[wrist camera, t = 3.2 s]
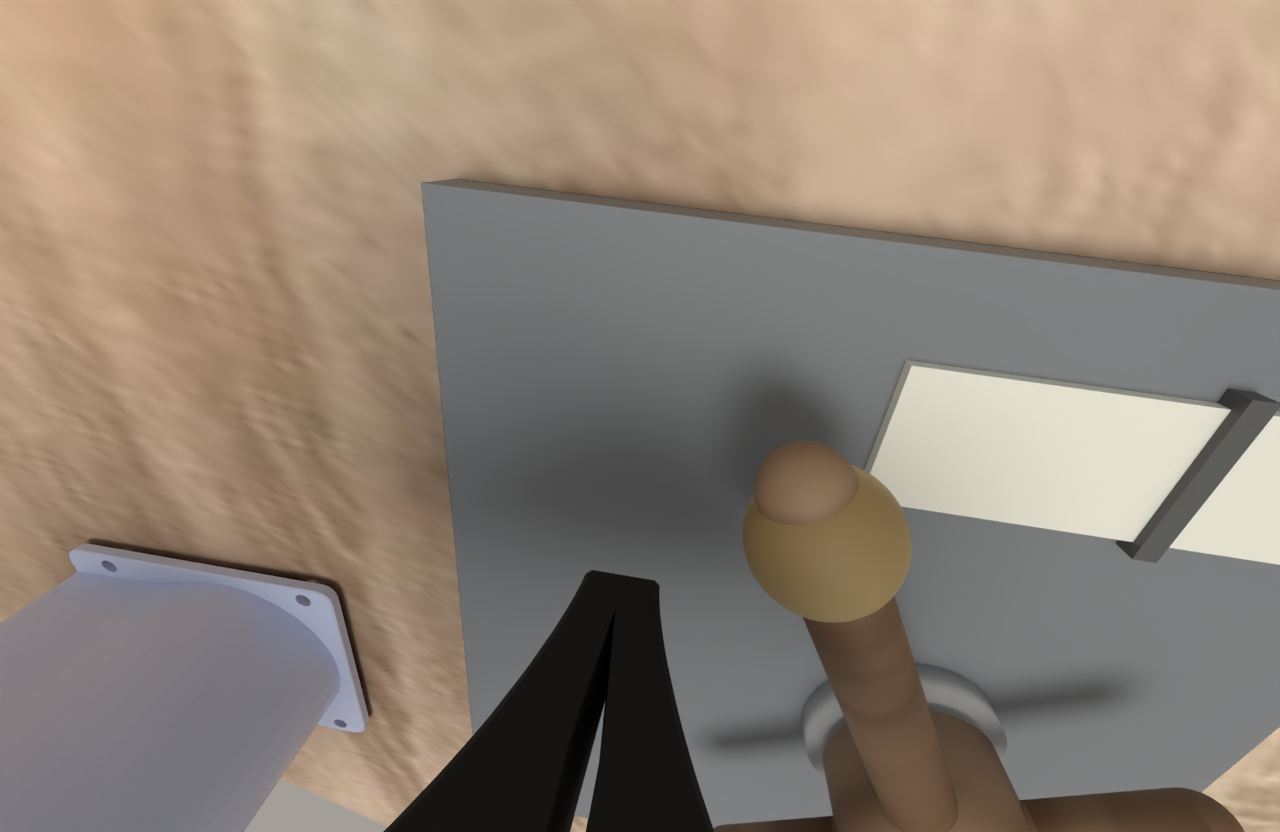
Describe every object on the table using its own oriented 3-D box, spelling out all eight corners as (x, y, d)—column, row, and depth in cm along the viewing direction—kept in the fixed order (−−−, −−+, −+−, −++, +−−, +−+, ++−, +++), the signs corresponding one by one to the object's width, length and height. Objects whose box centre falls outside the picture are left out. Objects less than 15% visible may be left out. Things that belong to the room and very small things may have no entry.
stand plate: (492, 756, 21) (469, 820, 19) (456, 178, 11) (398, 185, 9) (1036, 860, 20) (1073, 940, 18) (1591, 319, 9) (1832, 365, 7)
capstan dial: (1167, 855, 14) (1279, 1026, 12) (763, 876, 18) (773, 1012, 15) (1159, 271, 8) (1421, 341, 5) (510, 483, 11) (442, 597, 8)
